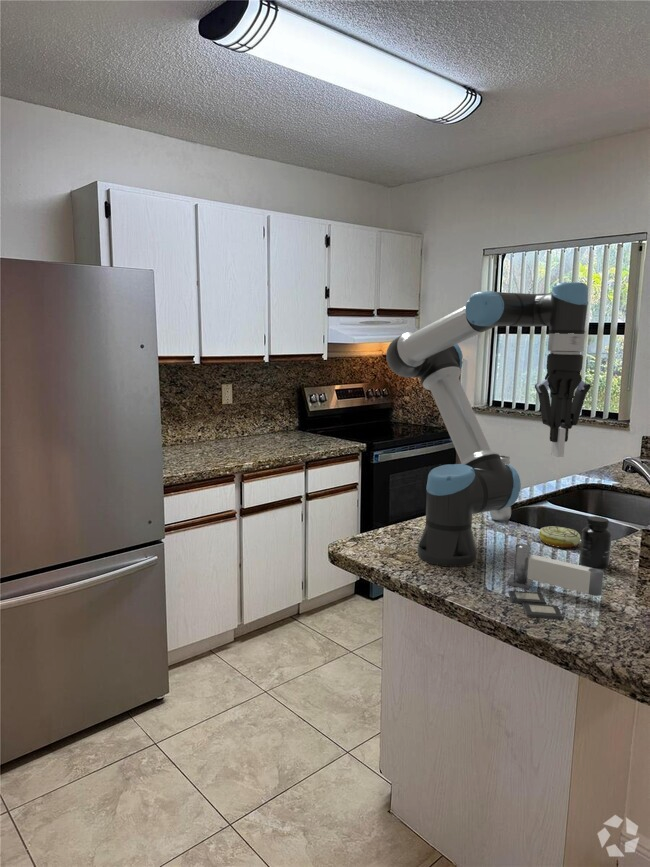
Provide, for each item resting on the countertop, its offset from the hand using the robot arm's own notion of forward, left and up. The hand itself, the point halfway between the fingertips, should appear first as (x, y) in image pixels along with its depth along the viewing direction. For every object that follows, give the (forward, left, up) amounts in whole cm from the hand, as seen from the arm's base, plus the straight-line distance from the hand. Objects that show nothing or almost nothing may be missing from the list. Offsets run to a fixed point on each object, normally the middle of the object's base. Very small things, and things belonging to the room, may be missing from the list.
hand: (557, 455), depth 140 cm
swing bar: (+5, -9, -27) cm, 29 cm away
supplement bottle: (+9, +13, -30) cm, 34 cm away
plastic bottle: (-20, +38, -30) cm, 52 cm away
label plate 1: (-2, -16, -29) cm, 34 cm away
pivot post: (-5, -8, -29) cm, 31 cm away
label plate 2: (+2, -21, -29) cm, 36 cm away
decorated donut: (-1, +26, -30) cm, 40 cm away
